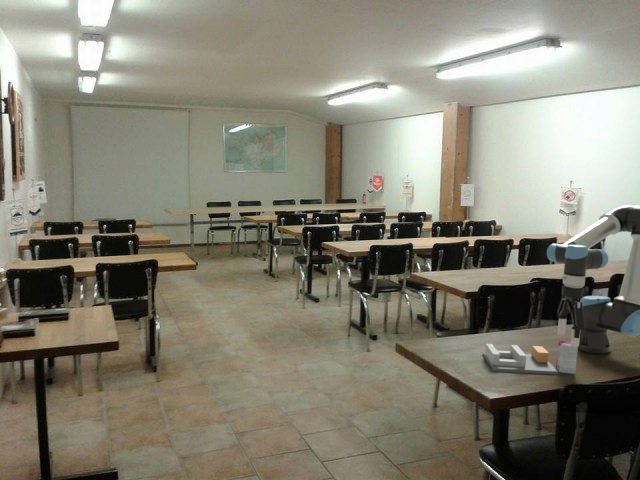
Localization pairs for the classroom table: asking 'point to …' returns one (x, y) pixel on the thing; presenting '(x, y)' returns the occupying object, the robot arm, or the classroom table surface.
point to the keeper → (540, 354)
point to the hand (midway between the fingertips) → (567, 340)
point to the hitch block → (515, 361)
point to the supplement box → (566, 358)
